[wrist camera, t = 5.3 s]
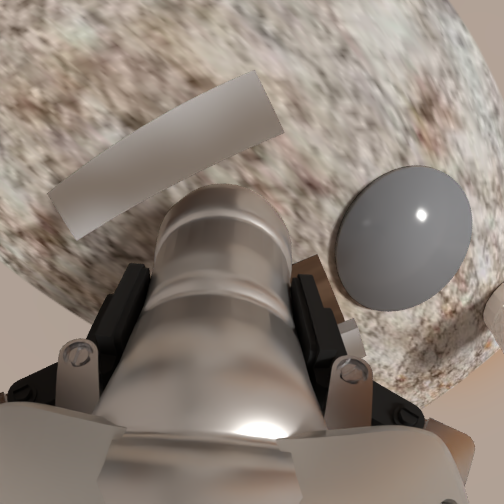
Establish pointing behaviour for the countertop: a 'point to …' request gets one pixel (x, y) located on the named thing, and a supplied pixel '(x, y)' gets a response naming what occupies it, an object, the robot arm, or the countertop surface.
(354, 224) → the coaster
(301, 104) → the countertop surface
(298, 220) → the countertop surface
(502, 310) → the white cup
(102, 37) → the countertop surface
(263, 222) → the grey bulging hollow cylinder
